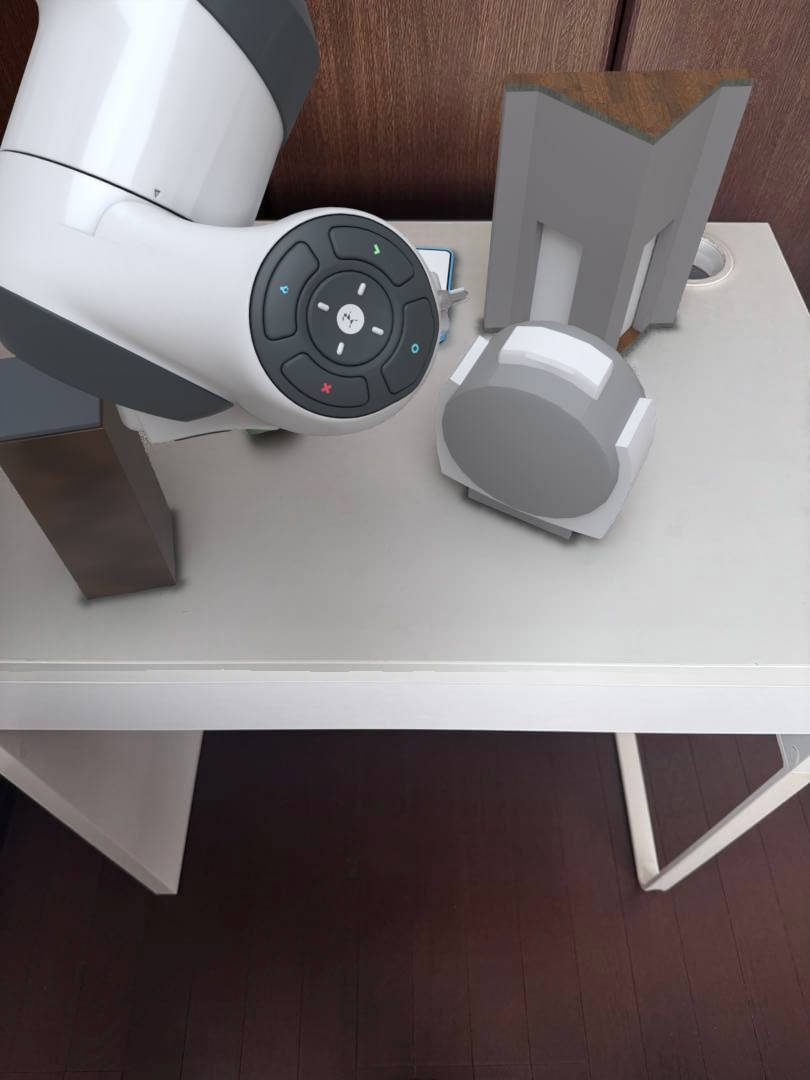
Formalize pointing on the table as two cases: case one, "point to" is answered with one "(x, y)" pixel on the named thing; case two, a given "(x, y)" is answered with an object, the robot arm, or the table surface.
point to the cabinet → (606, 194)
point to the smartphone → (439, 267)
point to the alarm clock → (545, 427)
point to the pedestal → (97, 504)
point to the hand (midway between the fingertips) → (268, 350)
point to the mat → (41, 403)
